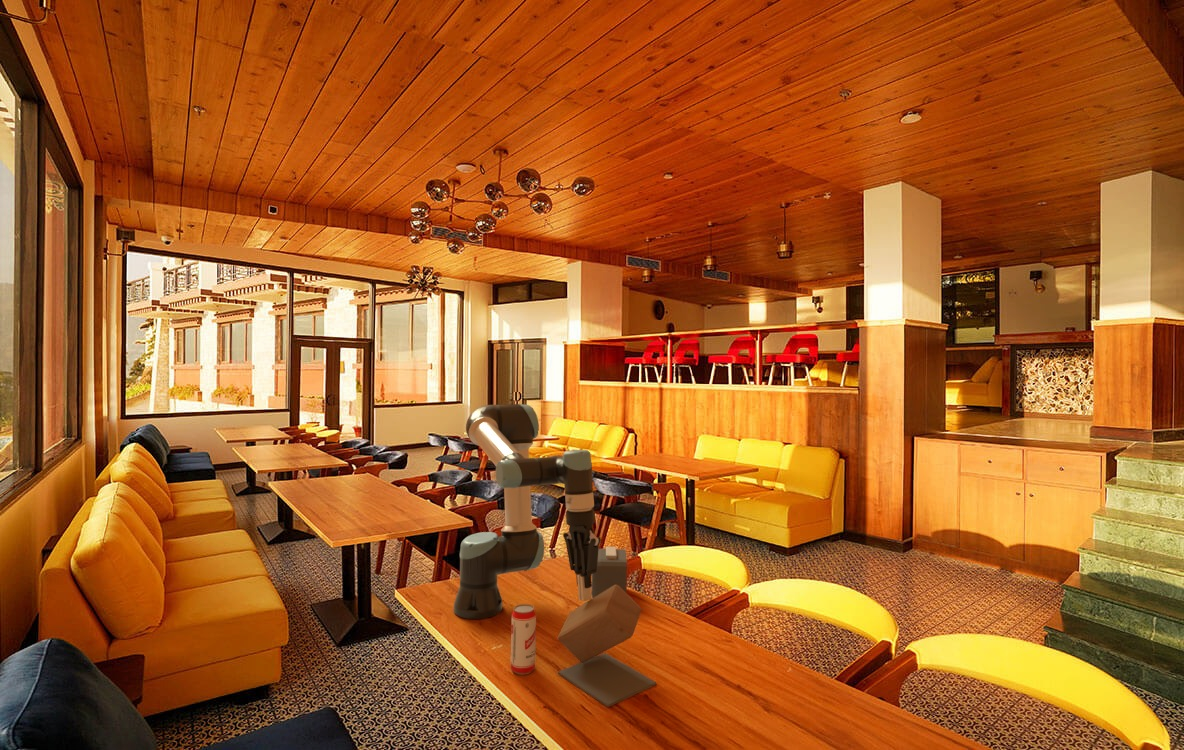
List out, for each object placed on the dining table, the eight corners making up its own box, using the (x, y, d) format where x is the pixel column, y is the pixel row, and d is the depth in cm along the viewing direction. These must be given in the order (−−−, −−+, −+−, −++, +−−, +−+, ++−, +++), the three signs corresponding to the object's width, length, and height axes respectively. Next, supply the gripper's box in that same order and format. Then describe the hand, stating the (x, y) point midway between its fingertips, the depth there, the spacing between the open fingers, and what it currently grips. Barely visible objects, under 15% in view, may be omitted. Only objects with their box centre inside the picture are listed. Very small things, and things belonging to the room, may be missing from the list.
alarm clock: (626, 606, 200) (627, 559, 199) (591, 605, 200) (592, 558, 199) (624, 587, 216) (625, 543, 215) (591, 587, 216) (592, 542, 215)
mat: (557, 673, 156) (558, 671, 156) (605, 655, 167) (605, 652, 167) (607, 707, 142) (607, 704, 142) (656, 684, 152) (656, 682, 152)
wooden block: (581, 665, 160) (633, 638, 150) (554, 639, 160) (604, 609, 149) (594, 636, 169) (643, 608, 159) (568, 611, 168) (616, 581, 158)
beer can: (539, 666, 160) (540, 605, 160) (528, 678, 154) (529, 614, 154) (517, 661, 162) (518, 601, 162) (506, 673, 156) (507, 611, 156)
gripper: (553, 508, 166) (557, 597, 165) (585, 513, 155) (590, 608, 154) (574, 504, 171) (579, 590, 170) (607, 509, 160) (612, 601, 159)
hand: (584, 599), depth 162 cm, fingers closed
